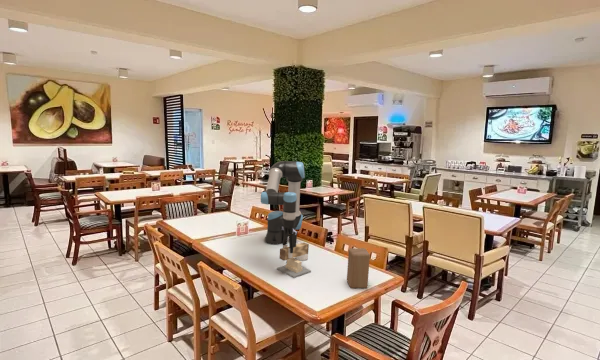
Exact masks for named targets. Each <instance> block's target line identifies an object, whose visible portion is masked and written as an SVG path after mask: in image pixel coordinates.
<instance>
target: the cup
mask: <svg viewBox="0 0 600 360" xmlns="http://www.w3.org/2000/svg"><path fill="white" fill-rule="evenodd" d="M301 243H307V244H309V243H308V242H305V241H299V242H296V245H297V244H301ZM308 258H309V253H308V254H305V255H301V256H298V257H294V259H296V260H299V261H301V262H303V261H307V260H308Z"/></svg>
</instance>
